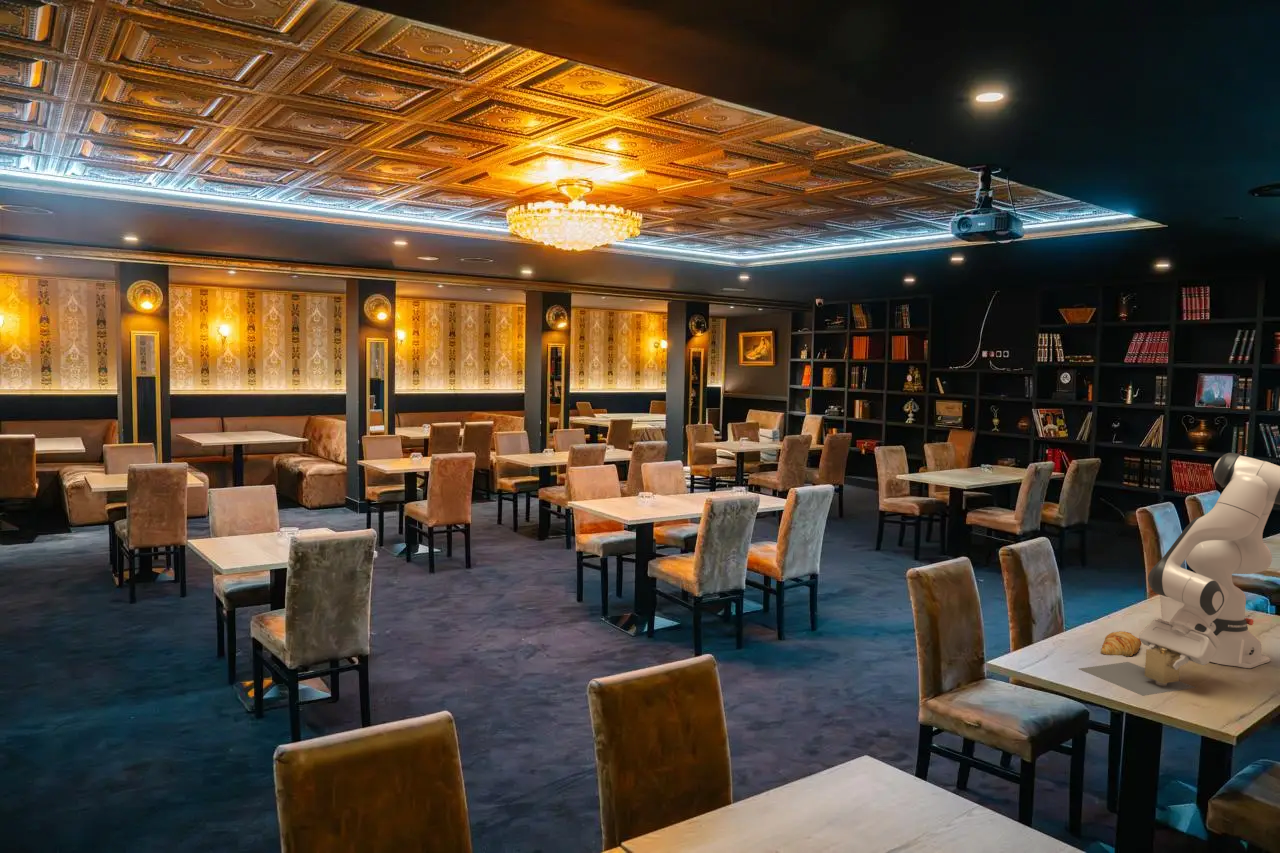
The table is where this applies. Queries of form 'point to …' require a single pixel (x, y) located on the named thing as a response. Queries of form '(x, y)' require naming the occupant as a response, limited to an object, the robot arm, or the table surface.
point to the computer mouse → (1161, 683)
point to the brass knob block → (1161, 665)
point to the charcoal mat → (1133, 678)
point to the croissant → (1120, 644)
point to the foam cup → (1169, 607)
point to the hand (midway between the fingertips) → (1161, 663)
